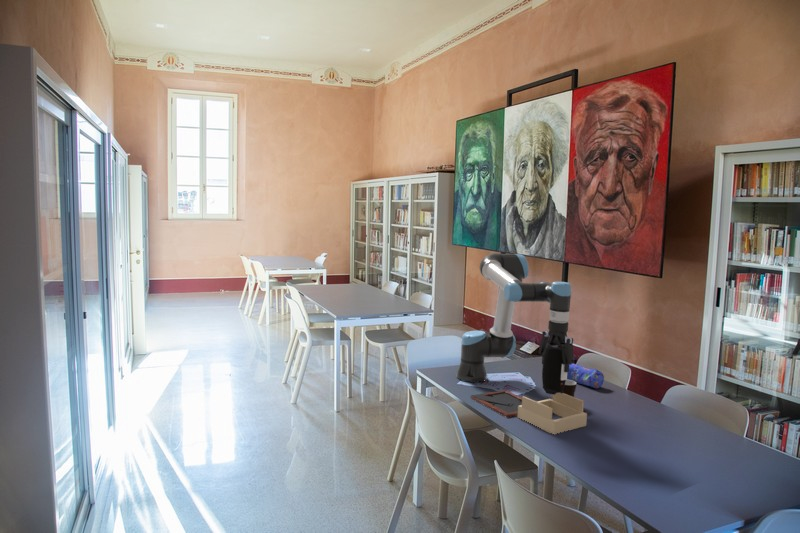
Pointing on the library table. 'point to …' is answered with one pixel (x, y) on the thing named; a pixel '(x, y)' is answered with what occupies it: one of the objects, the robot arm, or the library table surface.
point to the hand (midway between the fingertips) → (554, 376)
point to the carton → (561, 406)
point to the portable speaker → (552, 369)
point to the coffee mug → (570, 387)
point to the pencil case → (585, 376)
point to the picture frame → (500, 402)
